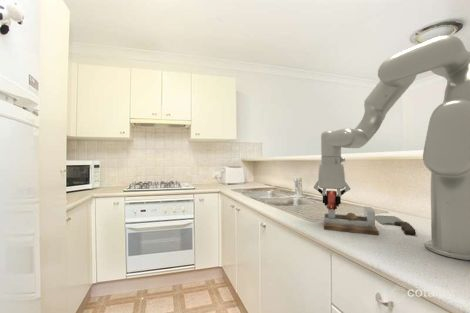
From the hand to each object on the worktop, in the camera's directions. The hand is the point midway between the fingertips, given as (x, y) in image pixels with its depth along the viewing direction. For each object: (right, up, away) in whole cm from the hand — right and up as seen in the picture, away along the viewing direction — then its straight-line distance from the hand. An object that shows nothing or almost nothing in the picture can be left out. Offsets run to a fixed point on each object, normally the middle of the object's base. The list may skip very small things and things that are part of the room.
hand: (331, 205), depth 94 cm
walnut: (+7, -4, -3) cm, 9 cm away
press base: (+6, -8, -3) cm, 10 cm away
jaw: (0, -6, 0) cm, 6 cm away
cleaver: (+26, -9, 0) cm, 27 cm away
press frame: (+5, -7, -2) cm, 9 cm away
